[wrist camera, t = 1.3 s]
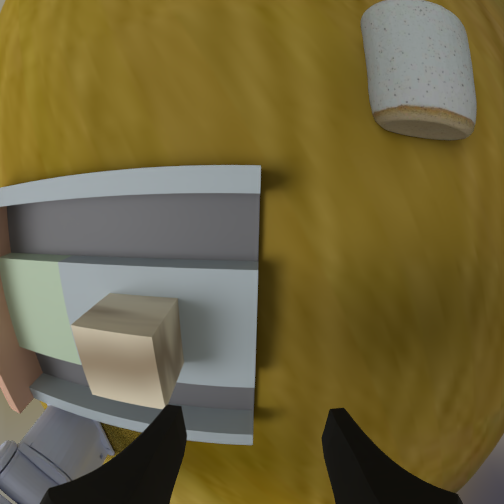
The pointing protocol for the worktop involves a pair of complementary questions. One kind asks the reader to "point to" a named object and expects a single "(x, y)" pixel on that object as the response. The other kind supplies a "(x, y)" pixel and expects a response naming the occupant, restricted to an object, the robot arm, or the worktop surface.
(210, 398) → the box
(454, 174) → the worktop surface
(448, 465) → the worktop surface
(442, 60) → the ceramic mug
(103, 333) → the birch block
